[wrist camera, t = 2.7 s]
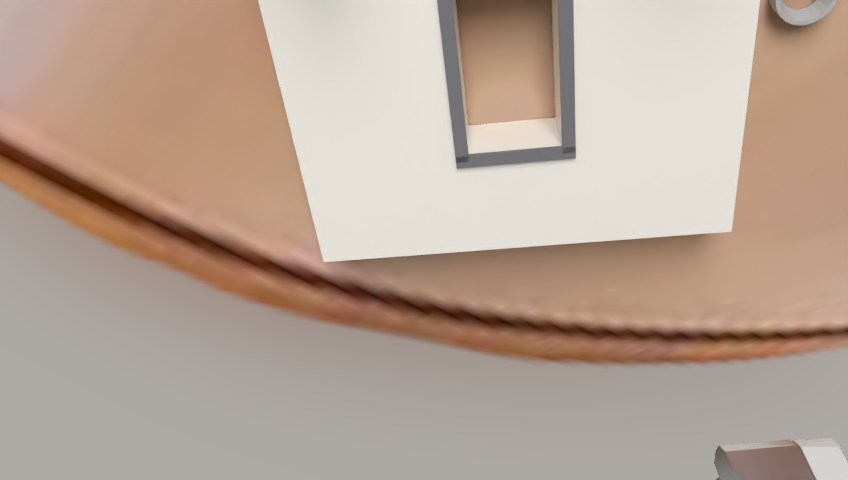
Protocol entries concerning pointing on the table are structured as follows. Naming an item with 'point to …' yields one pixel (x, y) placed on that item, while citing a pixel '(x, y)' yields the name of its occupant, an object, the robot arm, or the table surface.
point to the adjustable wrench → (803, 11)
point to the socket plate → (513, 126)
